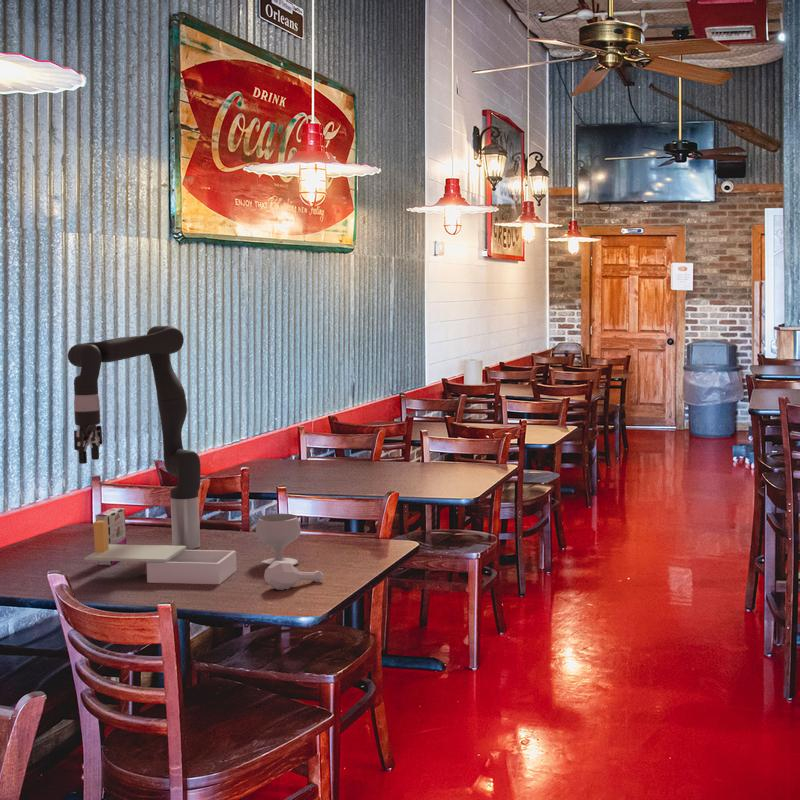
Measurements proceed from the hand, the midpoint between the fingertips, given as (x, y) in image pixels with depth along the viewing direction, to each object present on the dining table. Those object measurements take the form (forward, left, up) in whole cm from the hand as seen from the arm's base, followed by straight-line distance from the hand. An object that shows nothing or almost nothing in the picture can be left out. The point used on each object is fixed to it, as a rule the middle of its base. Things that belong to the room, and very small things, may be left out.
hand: (89, 461), depth 319 cm
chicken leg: (+12, +67, -34) cm, 77 cm away
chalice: (-12, +56, -34) cm, 67 cm away
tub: (+8, +35, -34) cm, 50 cm away
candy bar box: (-11, +1, -34) cm, 36 cm away
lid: (+8, +17, -27) cm, 33 cm away
